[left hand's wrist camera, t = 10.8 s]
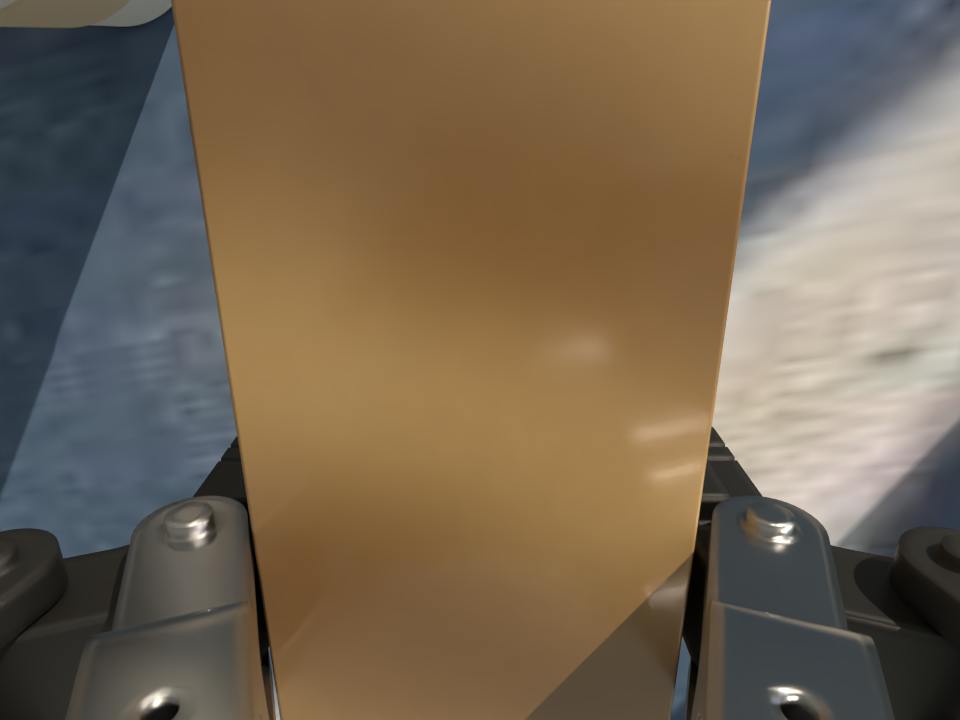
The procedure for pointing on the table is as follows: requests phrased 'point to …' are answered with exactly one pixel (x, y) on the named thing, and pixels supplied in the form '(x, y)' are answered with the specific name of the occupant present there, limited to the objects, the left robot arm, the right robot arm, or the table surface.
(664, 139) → the post
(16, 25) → the coffee cup
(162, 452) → the table surface
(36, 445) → the table surface
